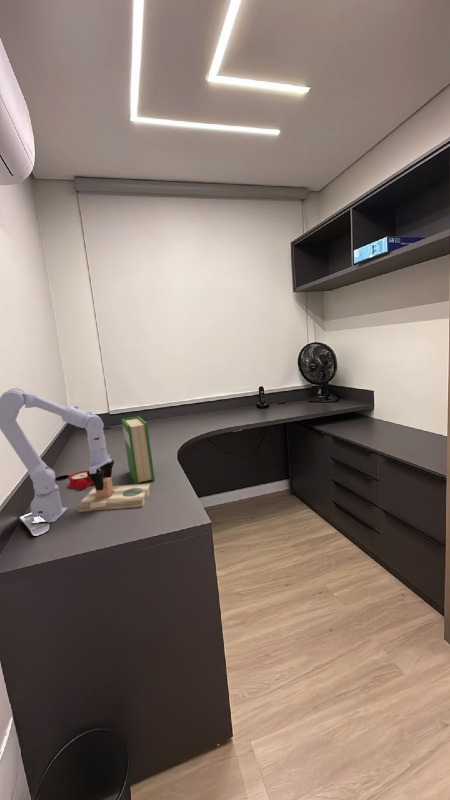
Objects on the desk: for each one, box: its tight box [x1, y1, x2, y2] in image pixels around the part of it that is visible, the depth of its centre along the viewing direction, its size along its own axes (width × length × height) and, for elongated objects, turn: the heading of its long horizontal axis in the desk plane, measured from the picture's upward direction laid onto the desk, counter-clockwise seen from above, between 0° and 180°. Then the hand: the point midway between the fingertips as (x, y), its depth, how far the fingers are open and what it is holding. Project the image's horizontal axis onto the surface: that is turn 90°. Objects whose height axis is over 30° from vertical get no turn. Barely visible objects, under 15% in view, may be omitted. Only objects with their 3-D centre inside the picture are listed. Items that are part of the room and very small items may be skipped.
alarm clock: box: [68, 470, 94, 491], centre depth 143 cm, size 10×6×15 cm
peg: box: [94, 476, 114, 498], centre depth 124 cm, size 4×4×8 cm
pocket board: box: [77, 482, 153, 513], centre depth 124 cm, size 14×22×3 cm, turn 89°
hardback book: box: [121, 415, 156, 485], centre depth 144 cm, size 18×7×24 cm, turn 24°
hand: (104, 485), depth 123 cm, fingers open, 7 cm apart
